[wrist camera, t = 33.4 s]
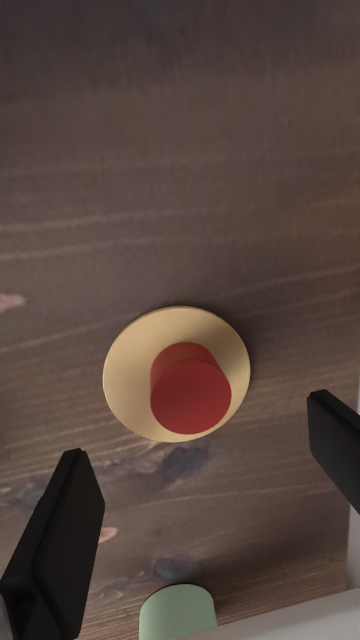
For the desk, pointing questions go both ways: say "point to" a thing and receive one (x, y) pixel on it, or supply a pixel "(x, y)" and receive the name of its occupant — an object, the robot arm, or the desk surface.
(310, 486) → the desk surface
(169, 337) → the coaster
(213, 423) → the cap
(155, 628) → the bottle
